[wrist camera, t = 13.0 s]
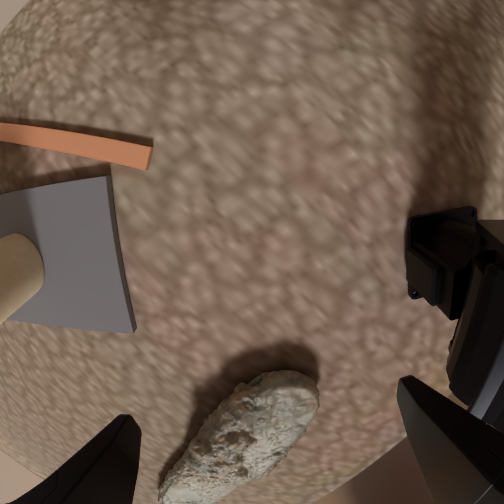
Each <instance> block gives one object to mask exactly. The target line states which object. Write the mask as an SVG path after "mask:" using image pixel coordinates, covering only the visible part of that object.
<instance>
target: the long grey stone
mask: <svg viewBox="0 0 504 504" xmlns="http://www.w3.org/2000/svg"><path fill="white" fill-rule="evenodd" d="M318 408H319V390H318V389H317V387H316V384H315V382H314V381H313V379H311V378H310V377H308V376H307V375H305V374H302V373H299V372H297V371H293V370H279V371H272V372H264V373H261V374H260V375H259V376H257V377H256V378H255V379H253V380H252V381H251V382H250V383H248V384H247V385H246V384H245V383H244V382H241V383H239V384H238V385H237V386H236V387H235V389H234V392H233V393H232V394H231V395H230V397H228V398H225V399H223V400H222V401H221V403H220V404H219V406H218V408H217V409H215V410H214V411H213V413H212V414H209V417H208V418H205V419H204V424H203V425H202V427H201V428H200V430H199V432H198V435H197V436H195V437H194V438H193V439H192V440H191V442H190V444H189V447H187V450H186V451H185V452H184V455H183V456H182V458H181V459H179V460H178V461H177V462H176V463H175V464H174V467H173V469H171V470H168V474H167V475H166V477H165V481H164V482H163V483H162V484H161V486H160V487H159V495H158V498H159V499H158V502H161V503H162V504H214V503H216V502H218V501H221V500H222V499H224V498H225V497H227V496H229V495H230V494H231V493H232V492H234V491H236V490H237V489H239V488H240V487H242V486H244V485H246V484H248V483H249V482H250V481H252V480H253V479H258V478H260V477H262V476H263V477H264V476H266V475H268V474H269V473H270V472H271V471H272V470H273V469H274V468H275V467H276V466H277V463H279V462H280V460H281V459H282V458H283V457H286V454H288V451H289V450H290V449H291V448H292V447H294V446H295V443H296V442H297V440H298V439H300V438H301V437H302V436H303V435H304V434H305V433H306V428H307V427H308V424H309V423H310V422H311V421H312V419H313V417H314V415H315V413H316V411H317V409H318Z"/></svg>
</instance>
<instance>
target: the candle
mask: <svg viewBox="0 0 504 504" xmlns="http://www.w3.org/2000/svg"><path fill="white" fill-rule="evenodd" d="M44 276H45V272H44V265H43V261H42V258H41V256H40V253H39V251H38V250H37V248H36V246H35V245H34V244H33V243H32V241H31V240H30V239H28V238H27V237H26V236H24V235H22V234H19V233H14V234H10V235H8V236H5V237H3V238H1V239H0V324H1V323H3V322H4V321H5V320H6V319H7V318H8V317H9V316H10V315H11V314H13V313H14V312H15V311H16V310H17V309H18V308H19V307H21V306H22V305H23V304H24V303H25V302H26V301H28V300H29V299H30V298H31V297H32V296H33V295H35V294H36V293H37V292H38V291H39V290H40V288H41V287H42V285H43V282H44Z"/></svg>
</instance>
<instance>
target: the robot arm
mask: <svg viewBox="0 0 504 504" xmlns="http://www.w3.org/2000/svg"><path fill="white" fill-rule="evenodd" d="M471 211H472V214H471ZM415 221H416V225H415V226H414V227H413V223H414V222H415ZM406 279H407V281H408V295H409V296H410V297H411V299H418V298H422V297H424V299H425V300H426V301H427V302H428V303H429V304H430V305H431V306H435V305H437V307H438V308H439V309H440V310H441V311H442V312H443V313H444V314H445V315H446V316H447V317H448V318H449V319H450V320H455V319H458V322H457V326H456V329H455V332H454V336H453V339H452V340H451V341H450V344H449V347H448V349H449V356H448V359H447V366H446V371H447V374H448V378H449V381H450V384H449V388H450V390H451V391H452V392H453V394H454V395H455V396H456V397H457V398H458V399H459V400H460V401H462V402H463V403H464V404H465V405H467V406H469V407H468V409H467V410H465V409H463V408H462V407H460V406H458V405H457V404H455V403H454V402H452V401H451V400H449V399H448V398H446V397H445V396H443V395H442V394H440V393H439V392H437V391H435V390H434V389H432V388H431V387H429V386H428V385H426V384H425V383H423V382H422V381H420V380H419V379H417V378H415V377H414V376H412V375H408V376H405V377H402V378H400V379H399V382H398V389H397V401H398V405H399V408H400V412H401V415H402V418H403V422H404V425H405V429H406V433H407V436H408V439H409V442H410V444H411V446H412V449H413V451H414V454H415V456H416V459H417V461H418V463H419V466H420V469H421V471H422V473H423V476H424V479H425V481H426V484H427V487H428V489H429V492H430V495H431V497H432V500H433V502H434V504H504V220H477V209H476V208H475V207H473V206H467V207H461V208H456V209H450V210H445V211H439V212H434V213H428V214H423V215H417V216H413V217H411V218H410V219H409V220H408V247H407V249H406ZM415 291H416V293H415V294H413V293H414V292H415ZM486 423H488V424H487V425H486ZM489 424H490V425H492V426H493V427H495V428H496V429H495V428H493V427H492V426H490V425H489ZM498 430H499V431H498ZM141 435H142V433H141V429H140V427H139V426H138V424H137V423H136V421H135V420H134V418H133V417H132V416H131V415H129V414H120V415H118V416H117V417H116V418H115V419H114V420H113V421H112V422H111V423H109V424H108V425H107V426H106V427H105V428H104V429H103V430H102V431H101V432H99V433H98V434H97V435H96V436H95V437H94V438H93V439H92V440H90V441H89V442H88V443H87V444H86V445H85V446H84V447H82V448H81V449H80V450H79V451H78V452H77V453H76V454H74V455H73V456H72V457H71V458H70V459H69V460H68V461H66V462H65V463H64V464H63V465H62V466H61V467H59V468H58V470H56V471H55V472H54V473H52V474H51V475H50V476H49V477H48V478H46V479H45V480H44V481H43V482H41V483H40V484H38V485H37V486H36V487H34V488H33V489H31V490H30V491H28V492H27V493H25V494H24V495H22V496H21V497H19V498H18V499H16V500H14V501H13V502H10V503H6V504H132V502H133V496H134V491H135V485H136V480H137V475H138V469H139V458H140V446H141Z"/></svg>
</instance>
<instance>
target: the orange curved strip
mask: <svg viewBox="0 0 504 504" xmlns="http://www.w3.org/2000/svg"><path fill="white" fill-rule="evenodd" d="M0 141H4V142H10V143H16V144H22V145H28V146H33V147H39V148H44V149H49V150H55V151H60V152H65V153H70V154H75V155H80V156H84V157H89V158H94V159H98V160H103V161H108V162H112V163H117V164H121V165H125V166H130V167H134V168H138V169H142V170H148V167H149V163H150V159H151V155H152V150H153V147H149V146H145V145H140V144H135V143H131V142H126V141H121V140H116V139H110V138H105V137H100V136H94V135H89V134H83V133H77V132H71V131H64V130H58V129H51V128H44V127H37V126H29V125H21V124H12V123H3V122H0Z"/></svg>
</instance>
